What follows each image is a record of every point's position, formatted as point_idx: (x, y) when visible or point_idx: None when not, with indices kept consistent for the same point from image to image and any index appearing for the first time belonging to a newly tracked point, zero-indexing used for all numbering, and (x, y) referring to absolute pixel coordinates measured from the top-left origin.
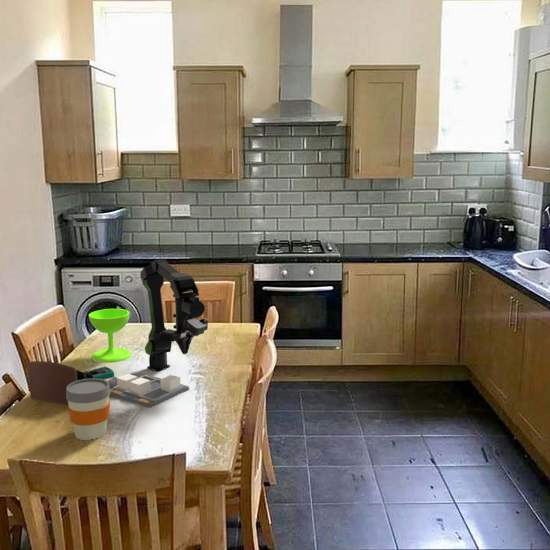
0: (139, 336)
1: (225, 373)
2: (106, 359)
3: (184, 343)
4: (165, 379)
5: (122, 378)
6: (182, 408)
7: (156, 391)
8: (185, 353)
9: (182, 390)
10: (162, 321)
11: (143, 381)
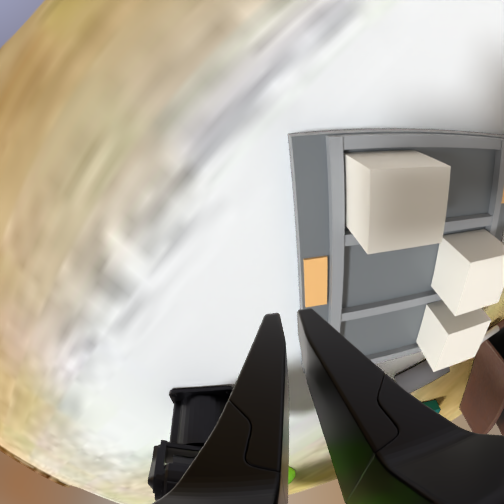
0: (137, 491)
1: (15, 188)
2: None
3: (404, 415)
4: (439, 213)
5: (475, 344)
6: (451, 14)
7: None
8: (303, 311)
9: (344, 132)
10: None
11: (486, 271)
